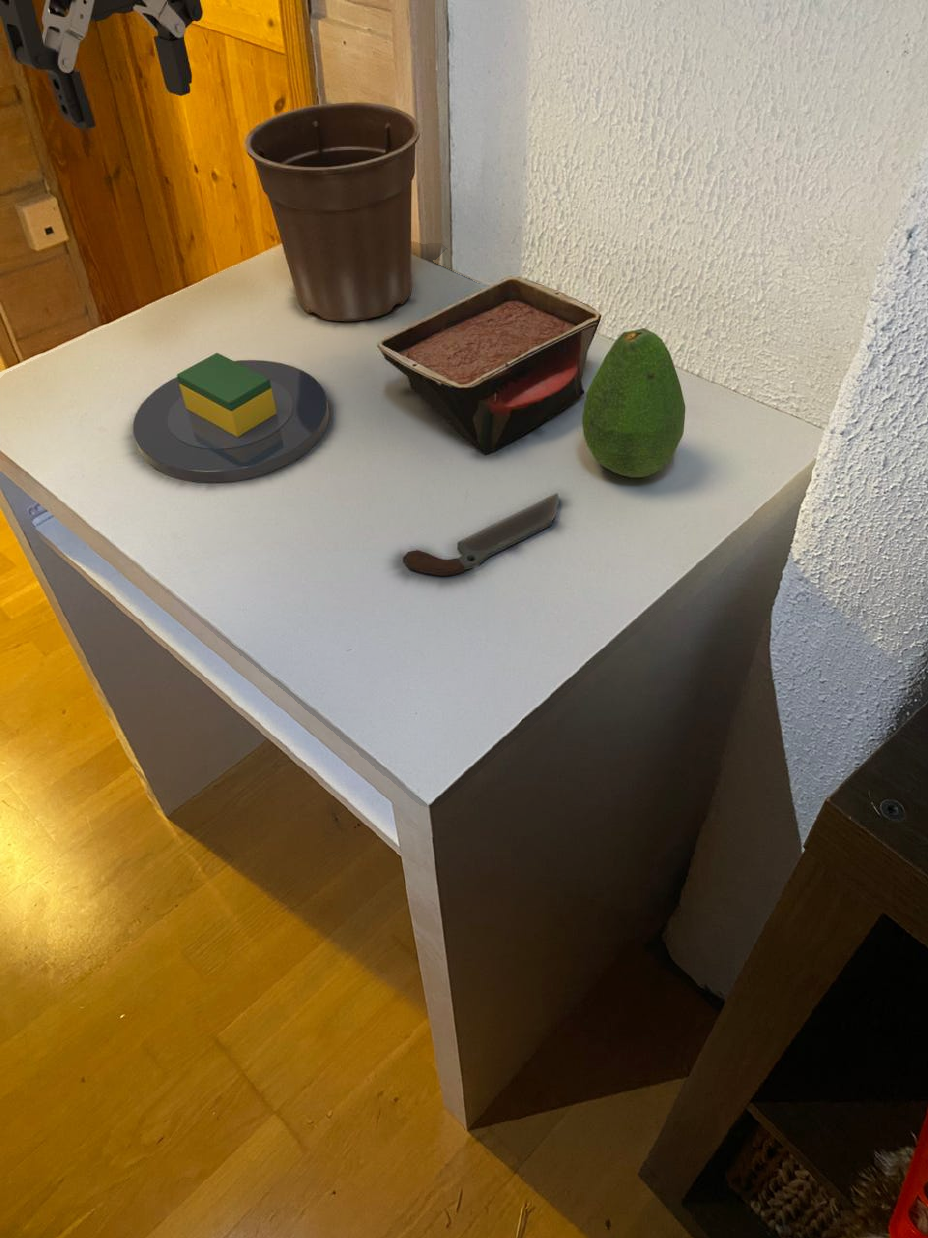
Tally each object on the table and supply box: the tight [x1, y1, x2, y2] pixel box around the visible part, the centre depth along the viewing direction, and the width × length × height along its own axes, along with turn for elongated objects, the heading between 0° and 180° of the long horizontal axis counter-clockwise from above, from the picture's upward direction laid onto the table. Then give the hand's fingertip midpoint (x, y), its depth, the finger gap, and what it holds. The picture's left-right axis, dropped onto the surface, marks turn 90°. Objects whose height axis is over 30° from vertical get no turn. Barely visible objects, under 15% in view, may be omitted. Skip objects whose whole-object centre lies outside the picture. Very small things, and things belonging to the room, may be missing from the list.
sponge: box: [176, 352, 277, 437], centre depth 80 cm, size 4×7×4 cm, turn 50°
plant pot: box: [244, 101, 421, 322], centre depth 92 cm, size 16×16×16 cm
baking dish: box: [376, 275, 603, 456], centre depth 81 cm, size 14×18×10 cm
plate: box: [132, 359, 330, 484], centre depth 82 cm, size 17×17×1 cm
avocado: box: [581, 327, 686, 478], centre depth 72 cm, size 8×8×12 cm
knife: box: [402, 493, 560, 577], centre depth 70 cm, size 14×4×1 cm, turn 125°
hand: (132, 109), depth 68 cm, fingers open, 8 cm apart
